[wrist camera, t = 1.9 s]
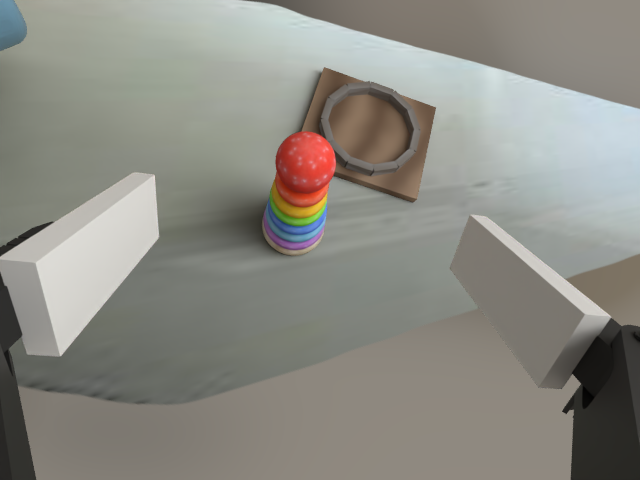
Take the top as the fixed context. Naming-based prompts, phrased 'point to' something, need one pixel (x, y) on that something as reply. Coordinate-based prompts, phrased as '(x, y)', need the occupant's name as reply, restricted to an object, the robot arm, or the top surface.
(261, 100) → the top surface
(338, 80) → the collar board
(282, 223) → the stacking toy
